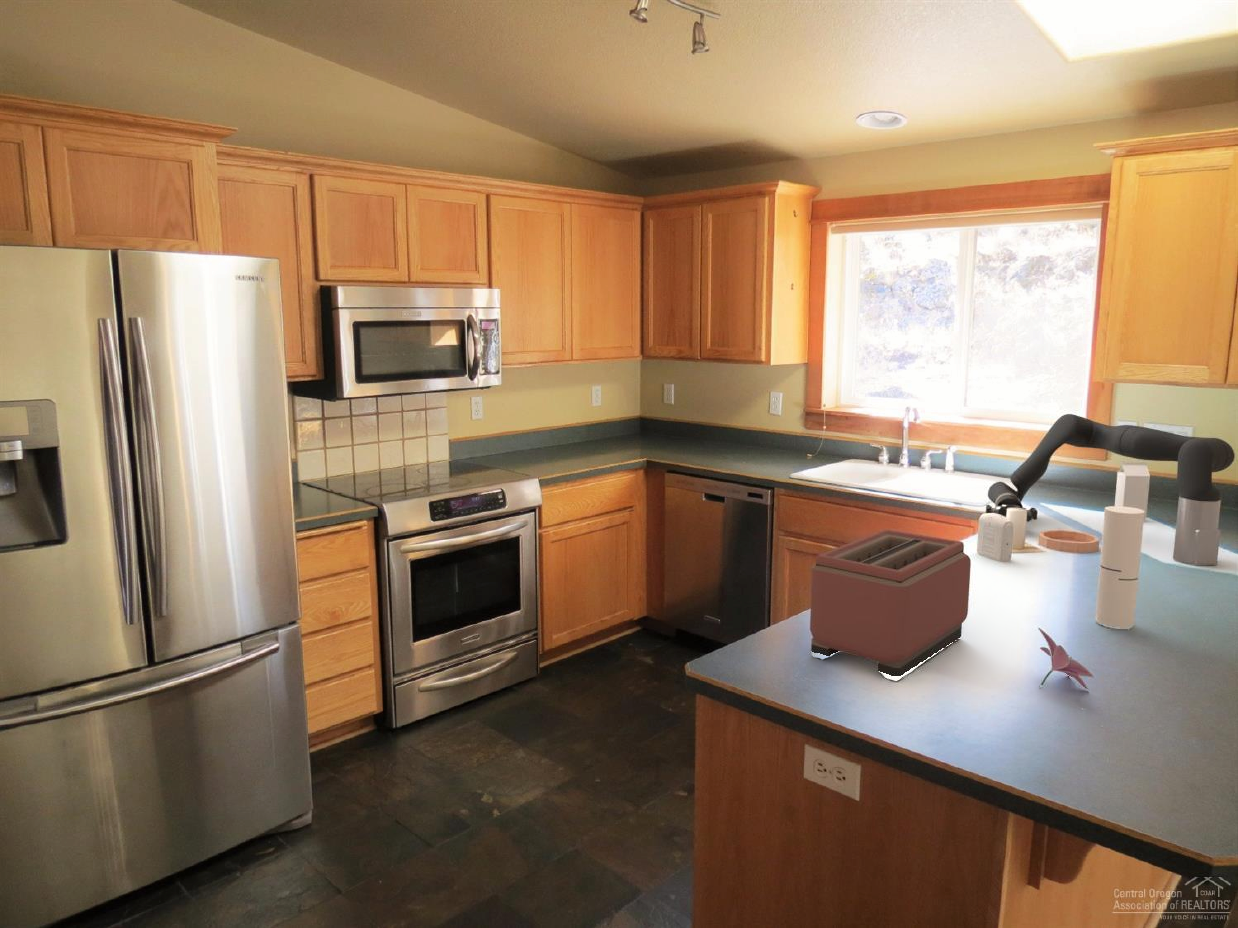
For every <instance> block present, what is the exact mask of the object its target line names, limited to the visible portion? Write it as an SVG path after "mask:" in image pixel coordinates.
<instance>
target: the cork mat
mask: <svg viewBox="0 0 1238 928" xmlns="http://www.w3.org/2000/svg"><path fill="white" fill-rule="evenodd" d="M1030 553H1033V554H1034V553H1047V551H1045V550H1044V549H1041V548H1039V547H1037V546H1034V545H1032V544H1031V543H1028V542H1026V541H1025V548H1024V549H1012V554H1030Z"/></svg>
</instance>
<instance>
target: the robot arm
mask: <svg viewBox="0 0 1238 928" xmlns="http://www.w3.org/2000/svg"><path fill="white" fill-rule="evenodd" d="M1065 444H1066V445H1069V446H1073V447H1075V448H1076V447H1077V448H1086V449H1087V448H1089V449H1097V450H1098V449H1100V450H1105V451H1108V452H1111V453H1113V454H1115V455H1119V456H1122V457H1127V458H1130V459H1137V460H1141V461H1153V462H1154V461H1155V462H1177V468H1176V485H1177V488H1178V491H1179V496H1178V503H1177V504H1178V505H1177V513H1176V522H1175V534H1174V545H1173V555H1172V559H1173V558H1174V559H1173V560H1175V561H1177V562H1179V561H1180V563H1183V564H1188V563H1191V564H1190V565H1193V564H1194V565H1193V566H1214V565H1215V566H1216V565H1218V559H1219V558H1218V557H1219V549H1220V539H1221V532H1222V531H1221V530H1220V529H1219V521H1220V520H1219V519H1220V513H1221V512H1220V511H1221V502H1222V495H1223V492H1222V489H1221V488H1219V487H1217V486H1215V485H1214V484H1213V478H1212V477H1213V473H1218V472H1222V471H1224V470H1225V469H1228V468H1229V467H1231V465H1233V462H1234V461H1235V459H1236V458H1235V455H1236V454H1235V450H1234V449H1233V447H1232V446H1231V445H1230V444H1229V443H1228V442H1227V441H1225V440H1223V439H1221V438H1217V437H1199V436H1187V435H1182V434H1181V435H1180V434H1176V433H1172V432H1168V431H1164V430H1159V429H1154V428H1149V427H1145V426H1138V425H1133V424H1122V425H1109V424H1104V423H1100V422H1097V421H1094V420H1092V419H1089V418H1086V417H1083V416H1080V415H1076V414H1072V413H1066V414H1063V415H1061V416H1060V417H1059V418H1057V420H1056V421H1055V422H1054V423H1053V425H1052V426H1051V427H1050V428H1049V429H1048V431H1047V433H1046V434H1045V436H1044V437H1043V438H1042V439H1041V440H1040V442H1039V444H1038V445H1037V446H1036V448H1035V449H1034V450H1033V451H1032V452H1031V454H1030V455H1029V456H1028V458H1026V460H1024V461H1023V462H1022V464H1021V465H1019V466H1018V467H1017V469H1015V470H1014V471H1013V472H1012V473H1011V474H1010V477H1009V478H1010V482H1011V483H1012V485H1013V486H1014V487H1015V489H1016V490H1017V491H1016V490H1015V489H1014V488H1012V487H1011V486H1010V485H1008V484H1007V483H1006V482H1004V481H996V482H994V483H993V484H992V485H990V487H989V489H988V491H987V497H988V499H989V500H990V501H991V502H992V503H993V504H994V507H993V505H990V504H986V507H985V513H996V514H1000V515H1002V516H1004V517H1006V515H1007V508H1023V509H1026V510H1027V519H1026V523H1029V522H1031V521H1032V520H1034V521H1037V520H1038V513H1039V512H1038V510H1037V509H1036V508H1035V507H1030V508H1029V509H1027V508H1026V507H1023V504H1022V501H1023V499H1024V497H1025V496H1026V494H1027V493H1028V491H1029V490H1030V489H1031V488H1032V487H1033V486H1034V485H1035V484H1036V483H1037V482H1038V481H1039V480H1040V479H1041V478H1042V477H1043V476H1044V474H1045V473H1046V471H1047V469H1048V466H1049V464H1050V461H1051V458H1052V456H1053V455H1054V453H1055V452H1056V451H1057V450H1058V449H1060V448H1061V447H1062V446H1063V445H1065Z"/></svg>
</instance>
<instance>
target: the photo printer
mask: <svg viewBox="0 0 1238 928" xmlns="http://www.w3.org/2000/svg"><path fill="white" fill-rule="evenodd" d="M977 527H978V528H977V529H978V530H977V531H978V532H977V542H976V544H977V546H976V553H977V554H978V553H979V554H978V555H980V556H982V557H986V558H988V559H990V558H991V560H993V561H997V562H1000V563H1007V562H1008V563H1009V562H1010V561H1011V560H1012V554H1013V553H1012V541H1013V528H1014V527H1013V523H1012V522H1011V521H1010V520H1009V519H1007V518H1006V517H1004V516H1002V515H1000V514H996V513H986V512H985V513H982V514H981V515H980V516H979V519H978V526H977Z"/></svg>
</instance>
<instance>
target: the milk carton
mask: <svg viewBox="0 0 1238 928" xmlns="http://www.w3.org/2000/svg"><path fill="white" fill-rule="evenodd" d="M1150 479H1151V475H1150V471H1149V468H1148V461H1122V463H1121V466H1120V467H1119V469H1118V470H1117V474H1116V487H1115V488H1116V489H1115V497H1114V499H1115V500H1114V506H1123V507H1132V508H1137V509H1141V510H1143V511H1144V522H1146V521H1147V513H1148V501H1149V492H1150V490H1149V489H1150Z"/></svg>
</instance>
